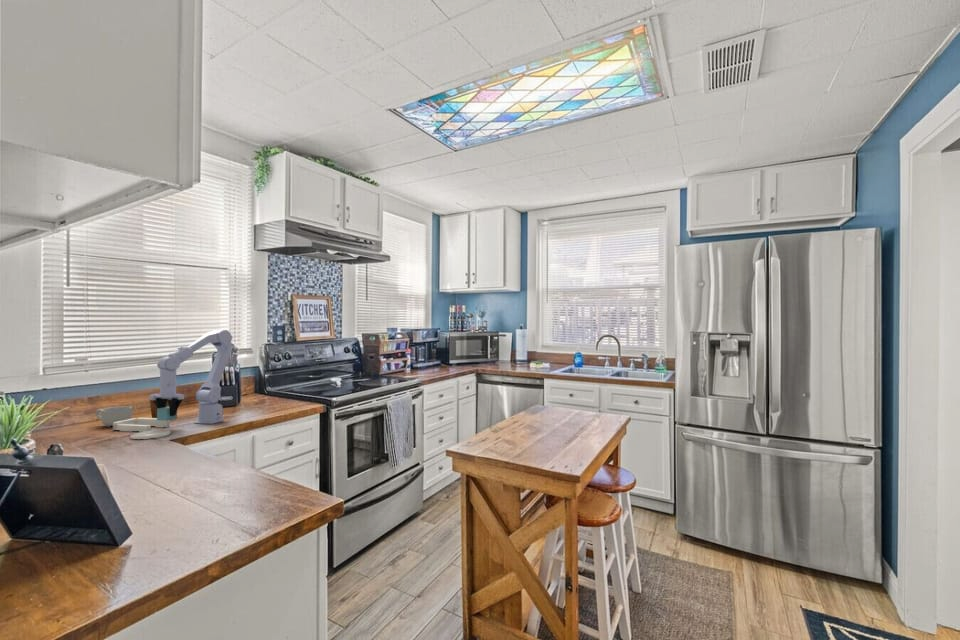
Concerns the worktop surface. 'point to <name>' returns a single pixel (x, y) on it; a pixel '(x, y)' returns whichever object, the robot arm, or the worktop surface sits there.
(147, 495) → the worktop surface
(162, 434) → the dish
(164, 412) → the cube
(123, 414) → the teacup
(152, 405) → the disposable coffee cup
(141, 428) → the frame
